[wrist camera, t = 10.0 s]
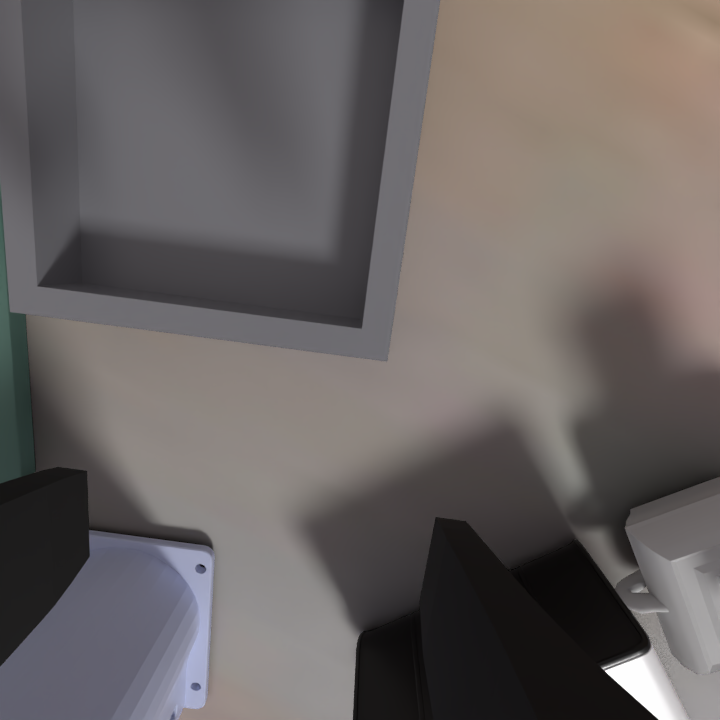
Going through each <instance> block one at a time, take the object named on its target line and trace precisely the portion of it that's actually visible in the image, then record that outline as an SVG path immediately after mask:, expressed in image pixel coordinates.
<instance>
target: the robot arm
mask: <svg viewBox="0 0 720 720" xmlns="http://www.w3.org/2000/svg"><path fill="white" fill-rule="evenodd" d="M214 558H215V555H214V552H213V550H212V549H211V548H210V547H208V546H205V545H198V544H191V543H183V542H176V541H168V540H161V539H153V538H146V537H138V536H131V535H123V534H116V533H108V532H101V531H93V530H89V517H88V486H87V471H84V470H76V469H68V468H61V467H56V468H52V469H47V470H43V471H40V472H36V473H32V474H29V475H26V476H22V477H19V478H16V479H13V480H9V481H6V482H3V483H0V720H178V719H179V717H180V714H181V712H182V710H183V707H185V708H192V709H199V708H202V707H203V706H204V705H205V702H206V700H207V696H208V677H209V657H210V638H211V618H212V598H213V578H214ZM199 564H202V565H204V566H205V567H206V568H203V567H201V566H200V565H199ZM420 616H421V633H422V648H423V658H424V665H425V671H426V677H427V683H428V689H429V696H430V702H431V708H432V714H433V720H658V719H657V718H656V717H655V716H654V715H653V714H652V713H651V712H650V711H648V710H647V709H646V708H645V707H644V706H643V705H642V704H641V703H640V702H638V701H637V700H636V699H635V698H634V697H633V696H632V695H631V694H630V693H628V692H627V691H626V690H625V689H624V688H623V687H622V686H621V685H619V684H618V683H617V682H616V681H615V680H614V679H613V678H612V677H611V676H610V675H608V674H607V673H606V672H605V671H604V670H603V669H602V668H601V667H600V666H599V665H598V664H597V663H596V662H595V661H594V660H593V659H592V658H591V657H590V656H589V655H588V654H587V653H586V652H585V651H584V650H583V649H582V648H581V647H580V646H579V645H578V644H577V643H576V642H575V641H574V640H573V639H572V638H571V637H570V636H569V635H568V634H567V633H566V632H565V631H564V630H563V629H562V628H561V627H560V626H559V625H558V624H557V623H556V622H555V621H554V620H553V619H552V618H551V617H550V616H549V615H548V614H547V613H546V612H545V611H544V610H543V609H542V607H541V606H540V605H539V604H538V603H537V602H536V601H535V600H534V599H533V598H532V597H531V596H530V594H529V593H528V592H527V591H526V590H525V589H524V588H523V587H522V586H521V584H520V583H519V582H518V581H517V580H516V579H515V578H514V577H513V575H512V574H511V573H510V572H509V571H508V570H507V569H506V567H505V566H504V565H503V564H502V563H501V562H500V560H499V559H498V558H497V557H496V556H495V555H494V553H493V552H492V551H491V550H490V549H489V548H488V546H487V545H486V544H485V543H484V542H483V541H482V539H481V538H480V537H479V536H478V535H477V534H476V532H475V531H474V530H473V529H472V528H471V527H470V526H469V525H468V523H467V522H466V521H460V520H452V519H445V518H437V517H436V519H435V524H434V529H433V534H432V540H431V545H430V550H429V555H428V560H427V565H426V571H425V576H424V581H423V586H422V591H421V597H420Z"/></svg>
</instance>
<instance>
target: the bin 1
mask: <svg viewBox="0 0 720 720" xmlns="http://www.w3.org/2000/svg"><path fill="white" fill-rule="evenodd" d="M34 472H36V470H35V455H34V440H33V424H32V409H31V394H30V378H29V363H28V347H27V332H26V317H25V314H22V313H14V312H10V306H9V292H8V279H7V265H6V252H5V238H4V225H3V211H2V198H1V184H0V483H3V482H6V481H9V480H13V479H16V478H19V477H22V476H26V475H29V474H32V473H34Z"/></svg>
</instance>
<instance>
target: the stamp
mask: <svg viewBox="0 0 720 720" xmlns="http://www.w3.org/2000/svg"><path fill="white" fill-rule="evenodd" d="M625 530H626V533H627V536H628V538H629V541H630V544H631V546H632V549H633V552H634V554H635V557H636V560H637V562H638V565H639V568H640V570H638V571H636V572H634V573H633V574H631V575H629V576H627V577H626V578H624V579H622V580H621V581H620V582H619V583H618V584H617V585H616V587H615V590H616V592H617V593H618V595H619V596H620V597H621V599H622V600H623V601H624V603H625V604H626V606H627V607H628V608H629V609H630V610H633V611H636V612H638V613H641V614H644V613H650V612H656V613H657V616H658V618H659V621H660V624H661V626H662V629H663V632H664V634H665V637H666V640H667V642H668V645H669V648H670V650H671V653H672V655H673V656H674V657H675V658H676V659H677V660H678V661H679V662H680V663H681V664H682V665H683V666H684V667H686V668H688V669H689V670H691V671H693V672H694V673H696V674H701V675H704V674H710V673H713V672H717V671H720V477H717V478H715V479H712V480H709V481H706V482H704V483H701V484H698V485H695V486H693V487H690V488H687V489H684V490H682V491H679V492H676V493H674V494H671V495H668V496H665V497H663V498H660V499H657V500H654V501H652V502H649V503H646V504H643V505H641V506H638V507H635V508H632V509H630V515H629V517H628V519H627V521H626V526H625ZM646 586H647V589H648V592H649V593H639V592H640V591H641V590H642V589H643V588H645V587H646Z"/></svg>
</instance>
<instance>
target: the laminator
mask: <svg viewBox="0 0 720 720" xmlns="http://www.w3.org/2000/svg"><path fill="white" fill-rule="evenodd" d="M509 572H510V573H511V574H512V575H513V577H514V578H515V579H516V580H517V581H518V582H519V583H520V584H521V586H522V587H523V588H524V589H525V590H526V591H527V592H528V593H529V594H530V596H531V597H532V598H533V599H534V600H535V601H536V602H537V603H538V604H539V605H540V606H541V607H542V609H543V610H544V611H545V612H546V613H547V614H548V615H549V616H550V617H551V618H552V619H553V620H554V621H555V622H556V623H557V624H558V625H559V626H560V627H561V628H562V629H563V630H564V631H565V632H566V633H567V634H568V635H569V636H570V637H571V638H572V639H573V640H574V641H575V642H576V643H577V644H578V645H579V646H580V647H581V648H582V649H583V650H584V651H585V652H586V653H587V654H588V655H589V656H590V657H591V658H592V659H593V660H594V661H595V662H596V663H597V664H598V665H599V666H600V667H601V668H602V669H603V670H604V671H605V672H606V673H607V674H608V675H610V676H611V677H612V678H613V679H614V680H615V681H616V682H617V683H618V684H619V685H621V686H622V687H623V688H624V689H625V690H626V691H627V692H628V693H630V694H631V695H632V696H633V697H634V698H635V699H636V700H637V701H638V702H640V703H641V704H642V705H643V706H644V707H645V708H646V709H647V710H648V711H650V712H651V713H652V714H653V715H654V716H655V717H656V718H657V719H658V720H690V718H689V716H688V714H687V712H686V710H685V708H684V706H683V704H682V702H681V700H680V698H679V696H678V694H677V692H676V690H675V688H674V686H673V684H672V682H671V680H670V678H669V676H668V674H667V673H666V671H665V669H664V667H663V665H662V663H661V661H660V659H659V657H658V655H657V653H656V651H655V649H654V647H653V645H652V643H651V641H650V639H649V637H648V635H647V634H646V632H645V631H644V629H643V628H642V626H641V625H640V624H639V622H638V621H637V619H636V618H635V617H634V615H633V614H632V613H631V611H630V610H629V608H628V607H627V606H626V604H625V603H624V601H623V600H622V599H621V597H620V596H619V595H618V593H617V592H616V590H615V589H614V588H613V586H612V585H611V584H610V582H609V581H608V579H607V578H606V577H605V575H604V574H603V573H602V571H601V570H600V568H599V567H598V566H597V564H596V563H595V562H594V560H593V559H592V557H591V556H590V555H589V553H588V552H587V551H586V549H585V548H584V547H583V545H582V544H581V543H580V542H579V541H578V540H573V542H572V543H571V544H569V545H568V546H566V547H564V548H561V549H559V550H557V551H555V552H553V553H550V554H548V555H546V556H543V557H541V558H539V559H536V560H534V561H532V562H530V563H527V564H525V565H523V566H522V567H518V568H516V569H513V570H511V571H509ZM353 720H433V714H432V708H431V702H430V696H429V689H428V683H427V677H426V671H425V665H424V658H423V648H422V633H421V616H420V611H418V612H415V613H413V614H411V615H408V616H406V617H403V618H401V619H399V620H396V621H394V622H392V623H389V624H387V625H384V626H382V627H379V628H377V629H375V630H372V631H368V632H367V631H364V632H362V633H361V634H360V636H359V638H358V642H357V648H356V668H355V688H354V709H353Z"/></svg>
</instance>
